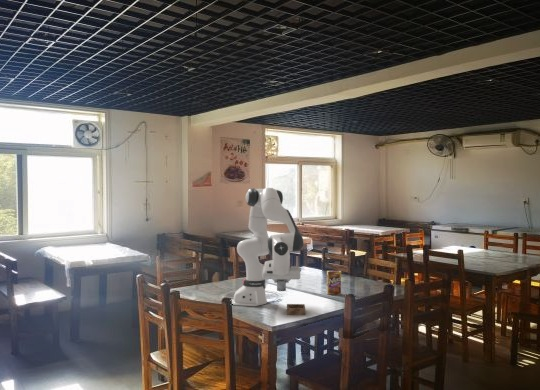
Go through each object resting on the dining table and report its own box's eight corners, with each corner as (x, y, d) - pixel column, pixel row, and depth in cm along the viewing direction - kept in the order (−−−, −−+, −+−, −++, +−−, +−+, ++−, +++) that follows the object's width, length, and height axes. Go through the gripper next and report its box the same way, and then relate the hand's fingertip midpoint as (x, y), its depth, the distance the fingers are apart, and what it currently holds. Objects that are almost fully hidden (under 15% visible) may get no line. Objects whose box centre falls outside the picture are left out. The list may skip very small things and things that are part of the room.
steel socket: (276, 291, 249) (276, 277, 249) (277, 289, 254) (277, 275, 254) (285, 291, 249) (285, 277, 249) (285, 289, 254) (285, 275, 254)
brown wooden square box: (286, 314, 257) (286, 308, 257) (286, 310, 267) (286, 304, 267) (305, 315, 257) (305, 308, 257) (304, 310, 267) (304, 304, 267)
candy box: (327, 294, 306) (327, 271, 306) (326, 293, 310) (326, 270, 310) (341, 294, 306) (341, 271, 306) (339, 293, 311) (339, 270, 311)
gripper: (301, 261, 244) (300, 277, 254) (262, 261, 245) (262, 276, 254) (301, 271, 239) (300, 286, 249) (261, 271, 240) (262, 286, 250)
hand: (281, 281), depth 252 cm, fingers closed on steel socket, 5 cm apart
